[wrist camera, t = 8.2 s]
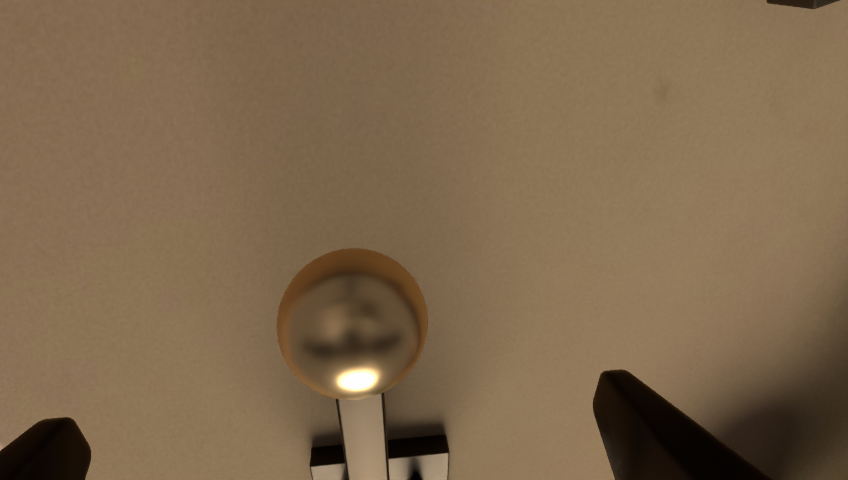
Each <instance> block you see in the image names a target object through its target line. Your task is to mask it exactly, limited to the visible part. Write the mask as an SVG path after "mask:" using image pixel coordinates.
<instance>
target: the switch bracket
mask: <svg viewBox="0 0 848 480" xmlns="http://www.w3.org/2000/svg"><path fill="white" fill-rule="evenodd" d="M387 443H388V459H389V475H390V480H448V467H449V448H448V442H447V437H446V435H443V436H432V437H422V438H412V439H401V440H391V441H387ZM310 470H311V475H312V479H313V480H347V473H346V466H345V459H344V452H343V445H340V446H329V447H319V448H312V449H311V459H310Z"/></svg>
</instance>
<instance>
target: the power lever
mask: <svg viewBox="0 0 848 480" xmlns="http://www.w3.org/2000/svg"><path fill="white" fill-rule="evenodd" d="M427 328H428V318H427V308H426V304H425V300H424V297H423V294H422V292H421V290H420V288H419V286H418V284H417V283H416V281H415V280H414V278H413V277H412V276H411V275H410V273H409V272H408V271H407V270H406V269H405V268H404V267H403V266H402V265H400V264H399V263H398V262H396V261H395V260H393V259H392V258H390V257H388V256H386V255H384V254H382V253H379V252H376V251H372V250H367V249H359V248H350V249H341V250H337V251H333V252H330V253H327V254H324V255H322V256H320V257H318V258H317V259H315V260H313V261H312V262H310V263H309V264H307V265H306V266H305V267H304V268H303V269H302V270H301V271H300V272H299V273H298V274H297V275H296V276H295V277H294V278H293V279H292V281H291V283H290V284H289V286H288V287H287V289H286V291H285V293H284V295H283V298H282V300H281V303H280V307H279V311H278V317H277V335H278V342H279V345H280V348H281V352H282V355H283V357H284V359H285V361H286V363H287V364H288V366H289V368H290V369H291V370H292V372H293V373H294V374H295V375H296V376H297V377H298V378H299V379H300V381H301V382H303V383H304V384H305V385H307V386H308V387H310V388H311V389H313V390H314V391H316V392H318V393H320V394H322V395H325V396H328V397H332V398H336V403H337V410H338V417H339V424H340V431H341V438H342V445H343V452H344V459H345V466H346V473H347V480H390V475H389V459H388V443H387V427H386V411H385V395H384V392H385V391H387V390H389V389H391V388H392V387H393V386H395V385H396V384H398V383H399V382H400V381H401V380H402V379H404V378H405V377H406V375H407V374H408V373H409V372H410V371H411V370H412V368H413V367H414V365H415V364H416V362H417V361H418V359H419V357H420V355H421V353H422V350H423V347H424V344H425V341H426V337H427Z"/></svg>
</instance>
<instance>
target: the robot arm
mask: <svg viewBox="0 0 848 480" xmlns="http://www.w3.org/2000/svg"><path fill="white" fill-rule="evenodd" d="M593 411H594V415H595V418H596V422H597V425H598V428H599V431H600V434H601V437H602V440H603V443H604V446H605V449H606V453H607V456H608V459H609V462H610V465H611V468H612V471H613V474H614V477H615V480H772V479H771V478H769V477H768V476H767V475H765V474H764V473H763V472H761V471H760V470H759V469H757V468H756V467H755V466H753V465H752V464H751V463H749V462H748V461H747V460H745V459H744V458H743V457H741V456H740V455H739V454H737V453H736V452H735V451H733V450H732V449H731V448H729V447H728V446H727V445H725V444H724V443H723V442H721V441H720V440H719V439H717V438H716V437H715V436H713V435H712V434H711V433H710V432H708V431H707V430H706V429H704V428H703V427H702V426H700V425H699V424H698V423H696V422H695V421H694V420H692V419H691V418H690V417H688V416H687V415H686V414H684V413H683V412H682V411H680V410H679V409H678V408H676V407H675V406H674V405H672V404H671V403H670V402H668V401H667V400H666V399H664V398H663V397H662V396H660V395H659V394H658V393H656V392H655V391H654V390H652V389H651V388H650V387H648V386H647V385H646V384H644V383H643V382H642V381H640V380H639V379H638V378H636V377H635V376H634V375H632V374H631V373H630V372H628V371H626V370H609V371H604V372H603V373H602V374H601V375H600V378H599V381H598V385H597V388H596V392H595V396H594V399H593ZM90 461H91V449H90V446H89V444H88V442H87V441H86V439H85V437H84V436H83V434H82V432H81V431H80V429H79V427H78V426H77V424H76V422H75V421H74V420H73V419H71V418H69V417H63V418H52V419H45V420H41V421H39V422H38V423H36V424H35V425H33V426H32V427H31V428H29V429H28V430H27V431H26V432H24V433H23V434H22V435H20V436H19V437H18V438H16V439H15V440H14V441H13V442H11V443H10V444H9V445H7V446H6V447H5V448H3V449H2V450H1V451H0V480H85V478H86V475H87V471H88V468H89V465H90Z"/></svg>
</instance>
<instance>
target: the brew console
mask: <svg viewBox="0 0 848 480" xmlns="http://www.w3.org/2000/svg"><path fill="white" fill-rule="evenodd" d="M836 1H839V0H767V3H770V4H778V5H785V6H793V7H801V8H809V9H816V8H819V7H822V6H825V5H828V4H831V3H833V2H836Z"/></svg>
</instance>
